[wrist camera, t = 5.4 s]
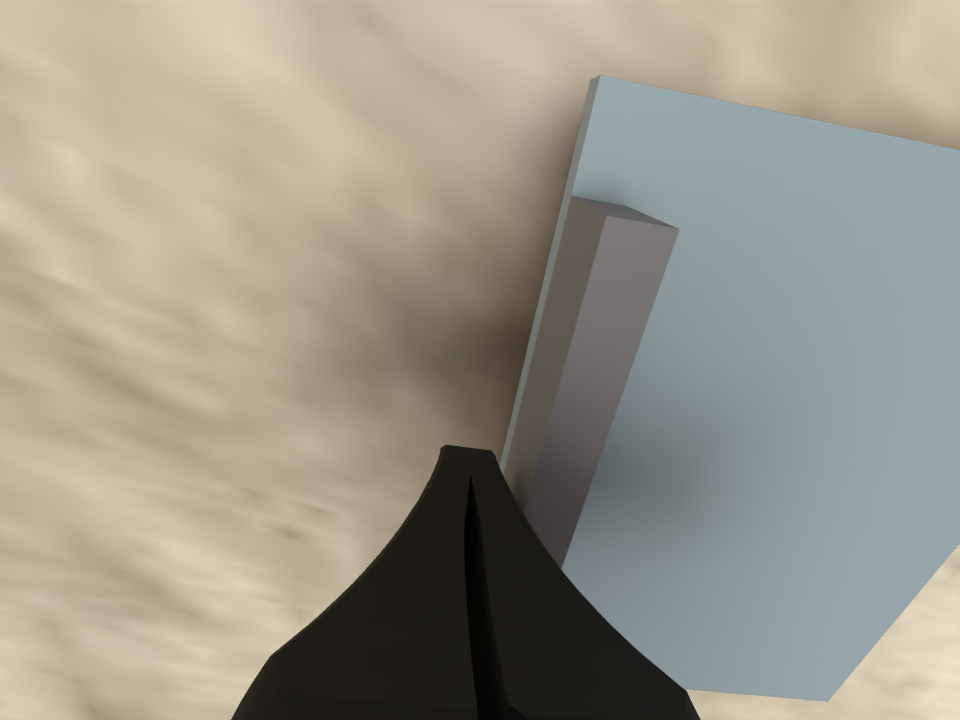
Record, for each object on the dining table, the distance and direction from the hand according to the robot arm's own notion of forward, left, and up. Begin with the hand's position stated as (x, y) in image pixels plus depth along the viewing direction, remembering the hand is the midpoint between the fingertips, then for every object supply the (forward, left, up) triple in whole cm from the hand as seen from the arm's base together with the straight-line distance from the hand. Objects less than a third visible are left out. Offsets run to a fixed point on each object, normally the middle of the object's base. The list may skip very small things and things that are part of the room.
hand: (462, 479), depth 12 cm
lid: (0, -8, -2) cm, 9 cm away
